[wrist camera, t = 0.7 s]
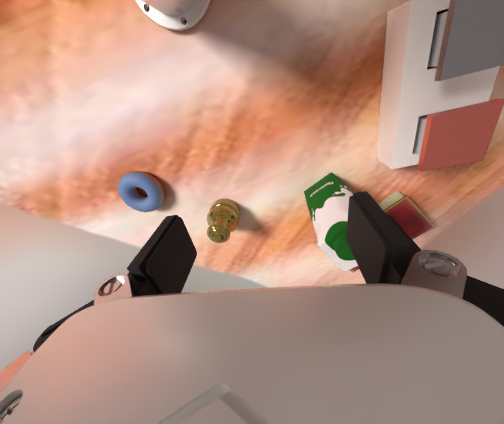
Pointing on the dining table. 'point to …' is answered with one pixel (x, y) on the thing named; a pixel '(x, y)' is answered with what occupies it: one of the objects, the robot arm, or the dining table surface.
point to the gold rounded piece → (222, 220)
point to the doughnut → (148, 184)
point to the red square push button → (456, 135)
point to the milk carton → (331, 219)
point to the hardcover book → (405, 215)
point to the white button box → (418, 81)
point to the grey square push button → (468, 38)
